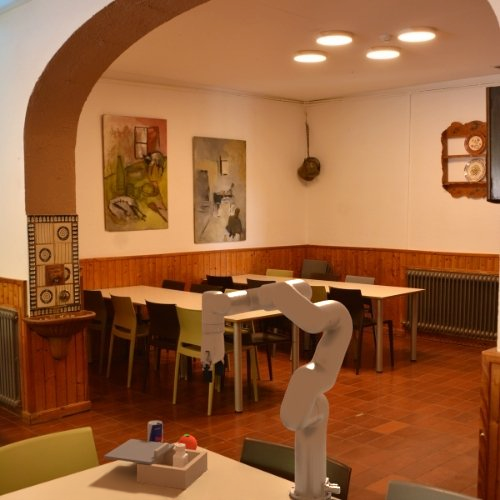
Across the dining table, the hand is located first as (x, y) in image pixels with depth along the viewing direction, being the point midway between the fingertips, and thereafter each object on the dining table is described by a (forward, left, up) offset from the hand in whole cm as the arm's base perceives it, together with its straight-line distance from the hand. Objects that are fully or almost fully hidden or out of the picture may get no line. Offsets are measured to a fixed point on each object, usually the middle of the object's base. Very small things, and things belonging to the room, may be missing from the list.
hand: (213, 378), depth 219 cm
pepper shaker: (+7, +11, -30) cm, 32 cm away
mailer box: (+10, +11, -30) cm, 34 cm away
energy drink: (+24, -3, -31) cm, 39 cm away
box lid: (+22, +11, -24) cm, 34 cm away
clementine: (+14, -8, -31) cm, 35 cm away
